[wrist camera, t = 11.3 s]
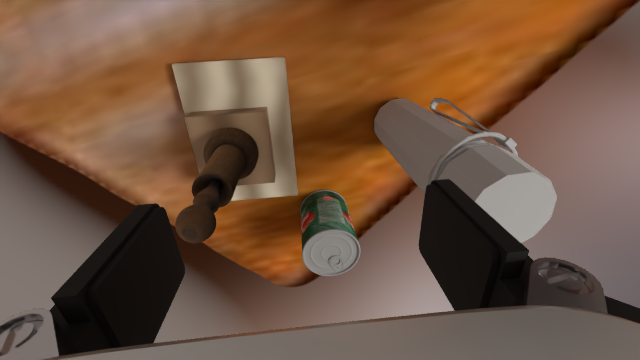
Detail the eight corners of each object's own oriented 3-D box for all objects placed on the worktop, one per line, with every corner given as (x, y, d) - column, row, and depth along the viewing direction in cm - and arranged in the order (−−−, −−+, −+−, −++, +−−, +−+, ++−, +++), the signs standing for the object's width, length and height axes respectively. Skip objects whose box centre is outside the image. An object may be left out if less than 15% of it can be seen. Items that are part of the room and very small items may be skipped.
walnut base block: (267, 106, 39) (265, 111, 36) (275, 173, 43) (274, 182, 41) (191, 111, 38) (184, 117, 36) (208, 179, 43) (202, 188, 40)
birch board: (284, 56, 38) (284, 57, 36) (297, 191, 46) (298, 195, 45) (175, 63, 37) (171, 64, 36) (209, 198, 46) (207, 202, 45)
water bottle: (396, 155, 45) (498, 270, 23) (360, 125, 42) (434, 221, 20) (440, 108, 42) (606, 186, 20) (404, 73, 40) (548, 118, 17)
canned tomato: (292, 200, 47) (292, 243, 37) (337, 182, 46) (348, 221, 36) (311, 235, 51) (316, 283, 41) (353, 219, 50) (368, 264, 40)
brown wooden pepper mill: (200, 161, 38) (134, 250, 22) (217, 118, 36) (157, 183, 20) (247, 180, 40) (218, 276, 24) (266, 140, 38) (248, 217, 22)
